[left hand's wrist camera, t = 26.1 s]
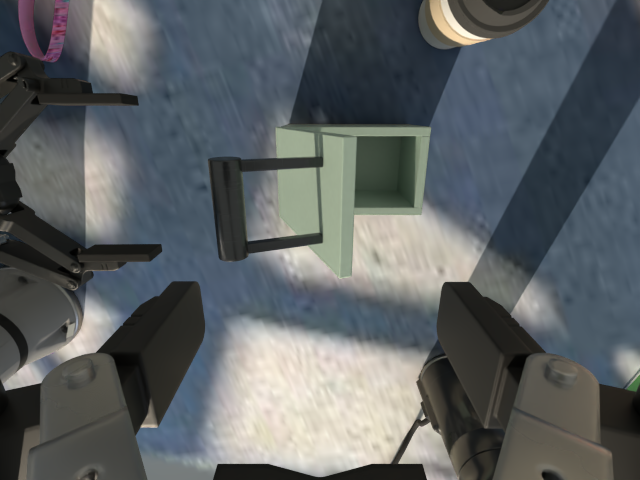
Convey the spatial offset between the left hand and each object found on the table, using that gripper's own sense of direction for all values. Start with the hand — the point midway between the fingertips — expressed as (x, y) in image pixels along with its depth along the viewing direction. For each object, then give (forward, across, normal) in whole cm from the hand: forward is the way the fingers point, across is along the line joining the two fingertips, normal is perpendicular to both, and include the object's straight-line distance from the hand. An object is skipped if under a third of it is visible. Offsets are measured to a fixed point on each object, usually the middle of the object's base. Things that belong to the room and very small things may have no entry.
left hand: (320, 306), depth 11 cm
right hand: (+20, +16, 0) cm, 26 cm away
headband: (+37, +32, -17) cm, 52 cm away
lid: (+19, +1, 0) cm, 19 cm away
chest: (+37, -4, 0) cm, 37 cm away
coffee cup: (+37, -15, -17) cm, 43 cm away
